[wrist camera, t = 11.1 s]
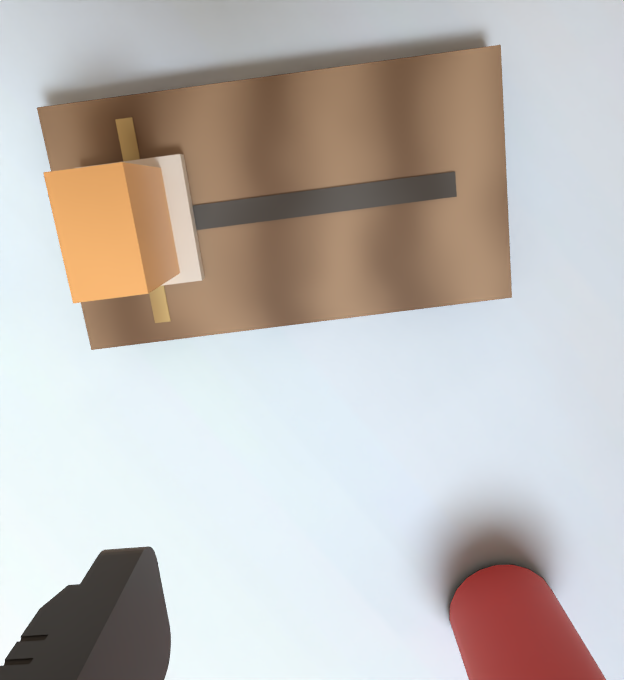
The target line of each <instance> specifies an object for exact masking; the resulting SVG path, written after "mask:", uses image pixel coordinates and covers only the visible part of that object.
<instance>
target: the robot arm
mask: <svg viewBox="0 0 624 680" xmlns="http://www.w3.org/2000/svg"><path fill="white" fill-rule="evenodd" d="M170 648H171V634H170V626H169V620H168V615H167V610H166V604H165V599H164V594H163V589H162V583H161V578H160V573H159V568H158V562H157V558H156V555H155V552H154V550H153V549H152V548H151V547H137V548H123V549H109V550H103V551H102V552H101V553H100V554H99V555H98V557H97V558H96V560H95V561H94V563H93V565H92V566H91V568H90V569H89V571H88V572H87V574H86V576H85V577H84V579H83V580H82V582H81V584H78V585H68V586H67V587H66V588H64V589H63V590H62V591H61V592H59V593H58V594H57V595H56V596H55V597H53V598H52V599H51V600H50V601H49V602H47V603H46V604H45V605H44V606H43V607H41V608H40V609H39V611H38V612H37V614H36V615H35V617H34V618H33V619H32V621H31V622H30V624H29V625H28V627H27V628H26V630H25V631H24V633H23V634H22V635H21V641H20V642H17V643H16V644H15V646H14V647H13V649H12V650H11V651H10V653H9V654H8V656H7V657H6V659H5V664H4V666H0V680H164V678H165V675H166V672H167V669H168V664H169V658H170Z"/></svg>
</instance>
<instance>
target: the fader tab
mask: <svg viewBox="0 0 624 680" xmlns="http://www.w3.org/2000/svg"><path fill="white" fill-rule="evenodd" d="M44 178H45V182H46V186H47V191H48V195H49V199H50V204H51V208H52V213H53V217H54V221H55V226H56V230H57V234H58V239H59V243H60V248H61V252H62V256H63V261H64V265H65V269H66V274H67V278H68V282H69V287H70V291H71V296H72V300H73V303H79V302H87V301H95V300H103V299H111V298H119V297H127V296H134V295H142V294H149V293H150V292H152V291H153V290H155V289H156V288H158V287H159V286H162V285H170V284H178V283H186V282H194V281H202V280H203V279H204V278H205V277H204V271H203V265H202V259H201V253H200V247H199V242H198V236H197V230H196V224H195V218H194V212H193V207H192V201H191V195H190V189H189V183H188V177H187V172H186V166H185V160H184V155H182V154H176V155H169V156H161V157H154V158H146V159H138V160H131V161H123V162H116V163H108V164H101V165H93V166H86V167H78V168H74V169H66V170H59V171H51V172H44Z"/></svg>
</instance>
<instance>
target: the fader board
mask: <svg viewBox="0 0 624 680" xmlns="http://www.w3.org/2000/svg"><path fill="white" fill-rule="evenodd" d="M37 110H38V115H39V119H40V124H41V128H42V132H43V137H44V141H45V146H46V150H47V155H48V159H49V163H50V168H51V171H59V170H66V169H74V168H78V167H86V166H93V165H101V164H108V163H116V162H123V161H131V160H138V159H146V158H154V157H161V156H169V155H176V154H182V155H184V160H185V166H186V172H187V177H188V183H189V189H190V195H191V201H192V207H193V212H194V218H195V224H196V230H197V236H198V242H199V247H200V253H201V259H202V265H203V271H204V277H205V278H204V279H203V280H202V281H194V282H186V283H178V284H170V285H162V286H159V287H158V288H156V289H155V290H153V291H152V292H150V293H149V294H142V295H134V296H127V297H119V298H111V299H103V300H95V301H87V302H81V305H82V310H83V314H84V319H85V323H86V328H87V332H88V336H89V341H90V345H91V350H94V349H102V348H110V347H118V346H126V345H134V344H142V343H150V342H158V341H166V340H174V339H182V338H190V337H198V336H206V335H214V334H222V333H230V332H238V331H246V330H254V329H262V328H271V327H279V326H287V325H295V324H303V323H311V322H319V321H327V320H335V319H343V318H351V317H359V316H367V315H375V314H383V313H391V312H399V311H407V310H415V309H423V308H431V307H439V306H447V305H455V304H463V303H471V302H479V301H487V300H495V299H503V298H511V297H512V291H511V269H510V246H509V223H508V201H507V178H506V155H505V133H504V110H503V88H502V65H501V45H496V46H489V47H481V48H474V49H466V50H459V51H452V52H444V53H437V54H429V55H422V56H415V57H407V58H400V59H392V60H385V61H378V62H370V63H363V64H356V65H348V66H341V67H333V68H326V69H319V70H311V71H304V72H296V73H289V74H282V75H274V76H267V77H259V78H252V79H245V80H237V81H230V82H223V83H215V84H208V85H200V86H193V87H186V88H178V89H171V90H163V91H156V92H149V93H141V94H134V95H126V96H119V97H112V98H104V99H97V100H90V101H82V102H75V103H67V104H60V105H53V106H45V107H38V108H37Z"/></svg>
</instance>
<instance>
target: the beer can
mask: <svg viewBox="0 0 624 680" xmlns="http://www.w3.org/2000/svg"><path fill="white" fill-rule="evenodd" d="M449 620H450V623H451V626H452V629H453V632H454V635H455V638H456V641H457V644H458V647H459V651H460V654H461V657H462V660H463V663H464V666H465V669H466V672H467V675H468V678H469V680H606V679H605V677H604V675H603V674H602V672H601V670H600V669H599V667H598V666H597V664H596V662H595V661H594V659H593V657H592V656H591V654H590V652H589V651H588V649H587V647H586V646H585V644H584V642H583V641H582V639H581V638H580V636H579V634H578V633H577V631H576V629H575V628H574V626H573V624H572V623H571V621H570V619H569V618H568V616H567V614H566V613H565V611H564V610H563V608H562V606H561V605H560V603H559V601H558V600H557V598H556V596H555V595H554V593H553V591H552V590H551V588H550V587H549V586H548V584H547V583H546V582H545V581H544V579H543V578H542V577H540V576H539V575H537V574H536V573H534V572H533V571H531V570H529V569H527V568H523V567H519V566H516V565H494V566H491V567H487V568H484V569H481V570H479V571H477V572H476V573H474V574H473V575H471V576H469V577H468V578H466V579H465V581H464V582H463V583H462V584H461V585H460V586H459V587H458V589H457V590H456V592H455V594H454V597H453V599H452V601H451V604H450V617H449Z"/></svg>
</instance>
